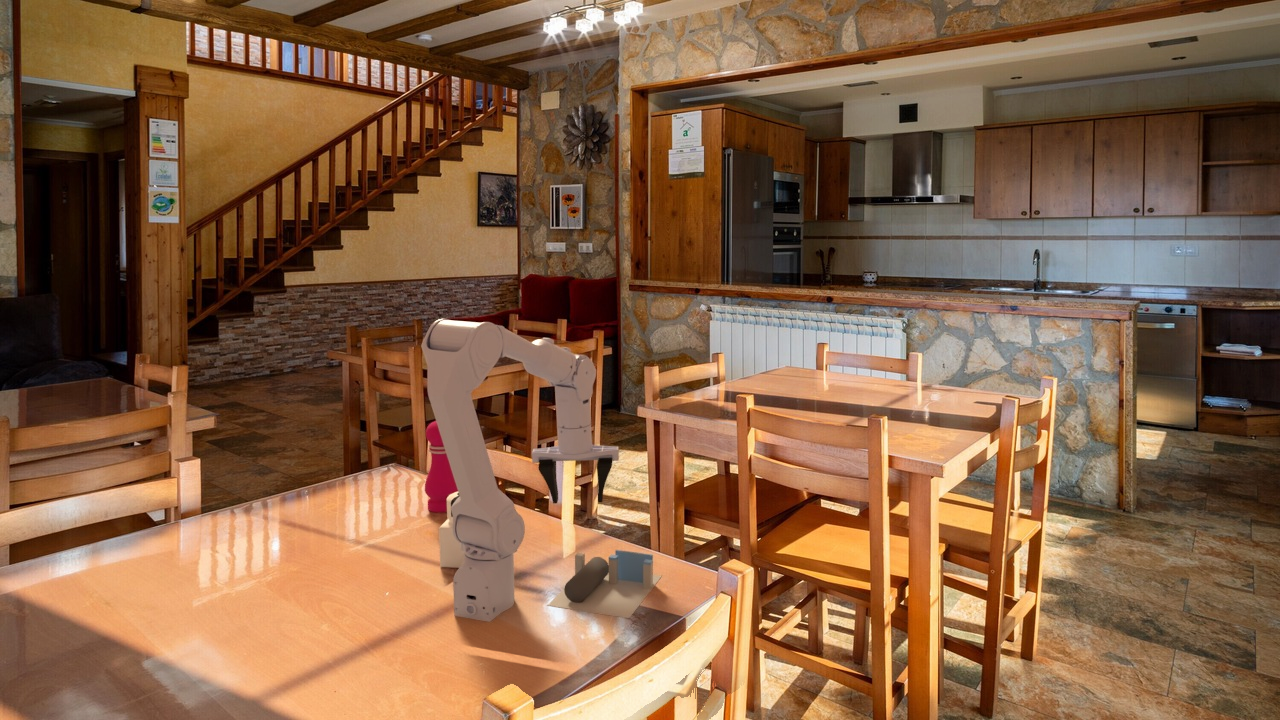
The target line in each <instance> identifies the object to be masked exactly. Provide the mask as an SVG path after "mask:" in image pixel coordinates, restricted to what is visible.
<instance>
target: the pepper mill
mask: <svg viewBox="0 0 1280 720" xmlns="http://www.w3.org/2000/svg"><path fill="white" fill-rule="evenodd" d="M425 437H426V440H427V441H428V442H429V445H428V448H429V449H428V452H429V453H430V456H431V462H430V463H431V464H430V468H429V471H428V473H427V477H426V479H425V482H424V492H425V494H426V495H427V497H428V498H429V499H428V500H427V511H429V512H432V513H436V514H437V513H439V514H441V513H442V514H443V513H447V497H448V496H449V495H450V494H453V493H455V492H458V489H457V486H456V482H455V479H454V476H453V473H452V470H451V467H450V463H449V460H448V457H447V454H446V451H445V447H444V444H443V441H442V438H441V435H440V431H439V428H438V425H437V422H436V420H434V421H432V422H430V423H429V424H428V426H427V427H426V429H425Z"/></svg>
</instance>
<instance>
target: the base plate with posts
mask: <svg viewBox="0 0 1280 720" xmlns="http://www.w3.org/2000/svg"><path fill="white" fill-rule="evenodd" d="M614 553H615V554H610V556H609V555H608V565H609V573H608V575H607V576H606V577H605V578H604V579H603V580H602V581H601V582H600V583H599V584H598V585H597V586H596V587H595V589H594V590H593V591H592V592H591V593H590V594H589V595H588V596H587V597H586V598H585V599H584V600H583V601H582V602H579V603H575V602H572V601H570V600H569V599H568V598H567V597H566V595H565V591H564V589H562V590H561V591H560V592H559V593H558V594H557V595H556V596H555V597H554V598H553V599H552V600H551V601H550V602H549V603H548V604H547V605H546V606H548V607H554V608H555V607H556V608H561V609H566V610H572V611H579V612H586V613H592V614H598V615H604V616H605V615H606V616H611V617H616V618H622V619H630V618H631V616H633V615H634V613H635V612H636V611H637V609H638V608H639V606H640V605H641V604H642V603H643V601H644V600H645V599H646V597H647V596H648V595H649V594H650V592H651V591H652V590H653V588H654V587H655V586H656V585H657V583H658V582H659V581H660V579H661V578H663V577H662V576H663V575H658V574H654V554H652V553H643V552H635V551H627V550H621V549H616V550H615V552H614ZM585 565H586V553H584V552H577V553H575V555H574V573H575V574H576V573H578V572H579V571H580V570H581V569H582V568H583V567H584V566H585ZM575 574H574V575H575Z"/></svg>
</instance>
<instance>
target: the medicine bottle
mask: <svg viewBox="0 0 1280 720" xmlns="http://www.w3.org/2000/svg"><path fill="white" fill-rule="evenodd" d="M458 497H460V495H459V492H455V493H453V494H450V495H449V496H448V497H447V512H446V517H447V519H446V520H445V521H444V522H443V523H442V524H441V525H440V526H439V528H438V539H439V540H438V543H439V565H440V568H451V569H452V568H454V569H459V568H460V567H461V565H462V564H463V561H464V555H465V552H464V551H462V550H461V543H460V542H458V541H457V540H456V539H455V537H454V535H453V530H452V526H453V515H452V511H451V506H452V505H453V503H454V502H455V501H456V499H457V498H458Z"/></svg>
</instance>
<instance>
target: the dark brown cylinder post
mask: <svg viewBox="0 0 1280 720" xmlns="http://www.w3.org/2000/svg"><path fill="white" fill-rule="evenodd" d="M608 573H609V562H608V561H607V560H606V559H605V558H603V557H601V556H594V557H592V558H591V559H590V560H589V561H588V562H587V563H585V566H584V567H583V568H582V569H581V570H580V571H579V572H578V573H576V574H574V575H573V576H572V577H571V578H570V579H569V580H568V581H567V582H566V583H565V585H564V587H563V590H564V591H565V595H566V597H567V598H568V599H569V600H570V601H572V602H575V603H579V602H582V601H583V600H584V599H585V598H586V597H587V596H588V595H589V594H590V593H591V592H592V591H593V590H594V589H595V587H596V586H597V585H598V584H599V583H600V582H601V581H602V580H603V579H604V578H605V577H606V576H607V575H608Z"/></svg>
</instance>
